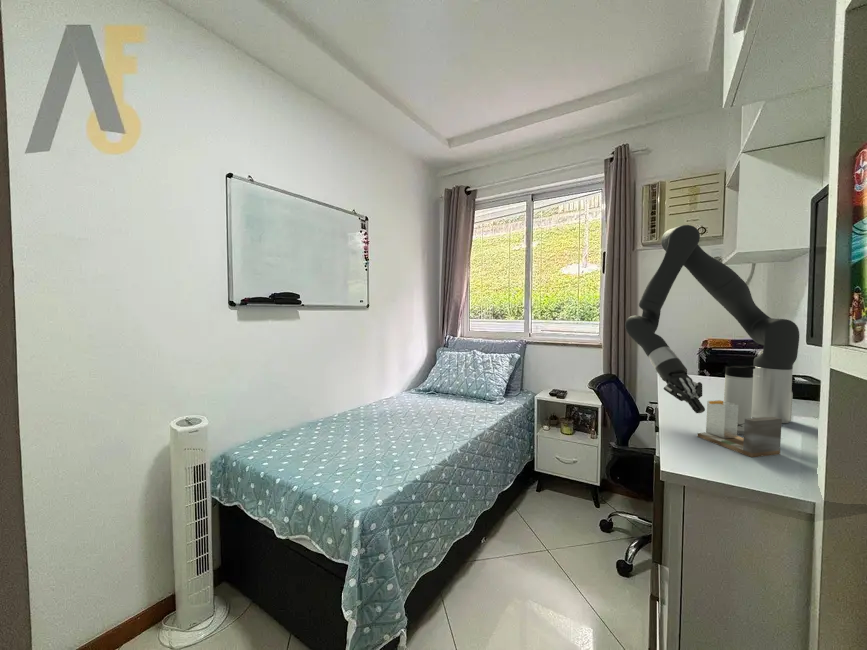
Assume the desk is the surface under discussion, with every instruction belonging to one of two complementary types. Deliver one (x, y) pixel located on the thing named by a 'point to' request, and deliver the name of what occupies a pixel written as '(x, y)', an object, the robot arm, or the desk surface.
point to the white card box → (722, 419)
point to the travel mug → (740, 392)
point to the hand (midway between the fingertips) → (701, 411)
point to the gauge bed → (753, 437)
